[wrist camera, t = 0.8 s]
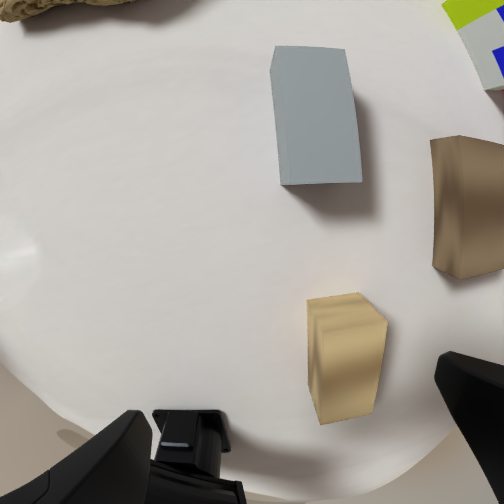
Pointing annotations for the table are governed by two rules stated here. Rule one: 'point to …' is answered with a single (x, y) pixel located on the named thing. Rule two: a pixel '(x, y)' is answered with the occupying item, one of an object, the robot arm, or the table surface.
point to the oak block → (344, 355)
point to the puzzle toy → (481, 36)
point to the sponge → (39, 7)
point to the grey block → (314, 116)
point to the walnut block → (468, 206)
